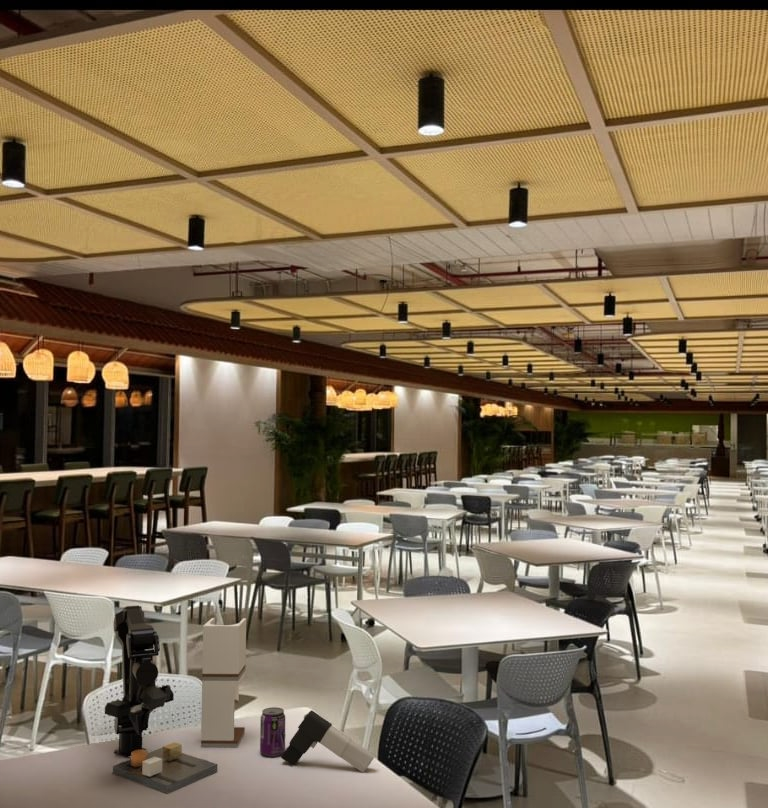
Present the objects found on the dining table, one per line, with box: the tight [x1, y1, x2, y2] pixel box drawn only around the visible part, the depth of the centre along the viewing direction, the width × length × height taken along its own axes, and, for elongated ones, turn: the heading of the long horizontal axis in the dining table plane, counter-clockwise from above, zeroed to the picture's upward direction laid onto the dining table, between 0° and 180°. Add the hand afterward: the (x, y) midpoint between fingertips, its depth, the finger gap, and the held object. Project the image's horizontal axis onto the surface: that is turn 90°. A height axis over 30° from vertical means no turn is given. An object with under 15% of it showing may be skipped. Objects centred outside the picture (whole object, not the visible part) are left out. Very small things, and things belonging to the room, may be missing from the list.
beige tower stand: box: [200, 617, 247, 749], centre depth 238 cm, size 11×11×35 cm
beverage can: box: [259, 706, 286, 757], centre depth 227 cm, size 7×7×12 cm
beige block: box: [142, 757, 162, 777], centre depth 207 cm, size 3×4×3 cm
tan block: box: [162, 742, 183, 761], centre depth 217 cm, size 3×4×3 cm
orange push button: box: [130, 749, 148, 767], centre depth 213 cm, size 4×4×3 cm
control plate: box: [112, 746, 218, 794], centre depth 213 cm, size 22×17×2 cm
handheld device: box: [280, 710, 375, 773], centre depth 217 cm, size 4×22×15 cm, turn 77°
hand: (139, 734), depth 213 cm, fingers closed
